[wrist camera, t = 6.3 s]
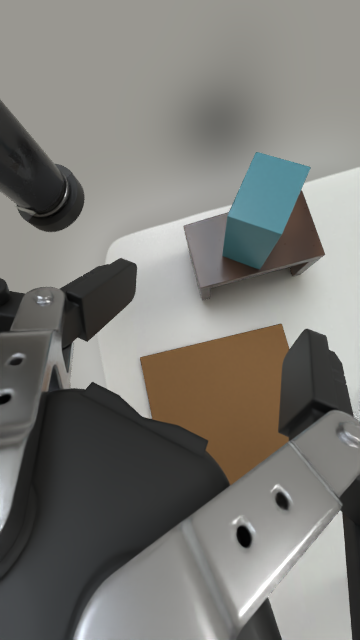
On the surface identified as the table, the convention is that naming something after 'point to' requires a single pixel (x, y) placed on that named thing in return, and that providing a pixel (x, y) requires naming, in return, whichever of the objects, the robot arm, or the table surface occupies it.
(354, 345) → the table surface
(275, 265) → the shelf
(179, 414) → the mat
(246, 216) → the teal rectangular block
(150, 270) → the table surface
